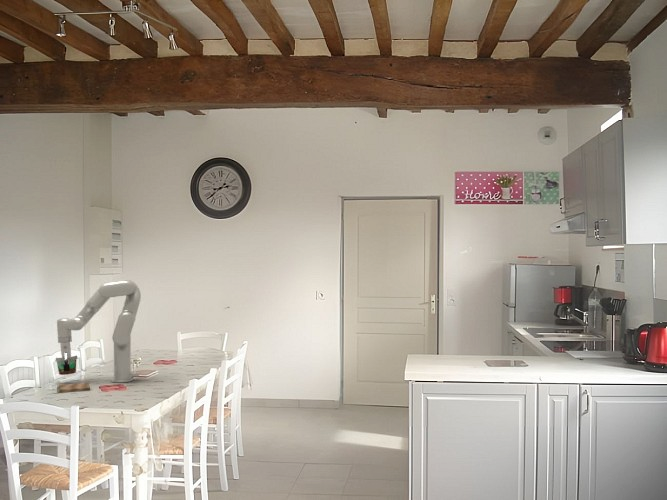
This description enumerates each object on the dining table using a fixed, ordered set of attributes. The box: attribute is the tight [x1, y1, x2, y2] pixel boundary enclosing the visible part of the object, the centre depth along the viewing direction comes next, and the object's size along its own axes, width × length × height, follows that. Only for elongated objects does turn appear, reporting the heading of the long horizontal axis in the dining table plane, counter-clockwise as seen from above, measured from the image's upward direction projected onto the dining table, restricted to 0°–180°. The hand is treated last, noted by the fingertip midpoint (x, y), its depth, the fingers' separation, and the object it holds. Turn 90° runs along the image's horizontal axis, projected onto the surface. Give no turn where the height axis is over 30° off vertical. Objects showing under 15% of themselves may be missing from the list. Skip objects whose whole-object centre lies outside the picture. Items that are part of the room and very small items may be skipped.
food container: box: [54, 355, 78, 376], centre depth 409 cm, size 12×6×10 cm, turn 109°
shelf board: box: [56, 381, 91, 394], centre depth 393 cm, size 17×16×4 cm
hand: (66, 370), depth 410 cm, fingers closed on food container, 5 cm apart
